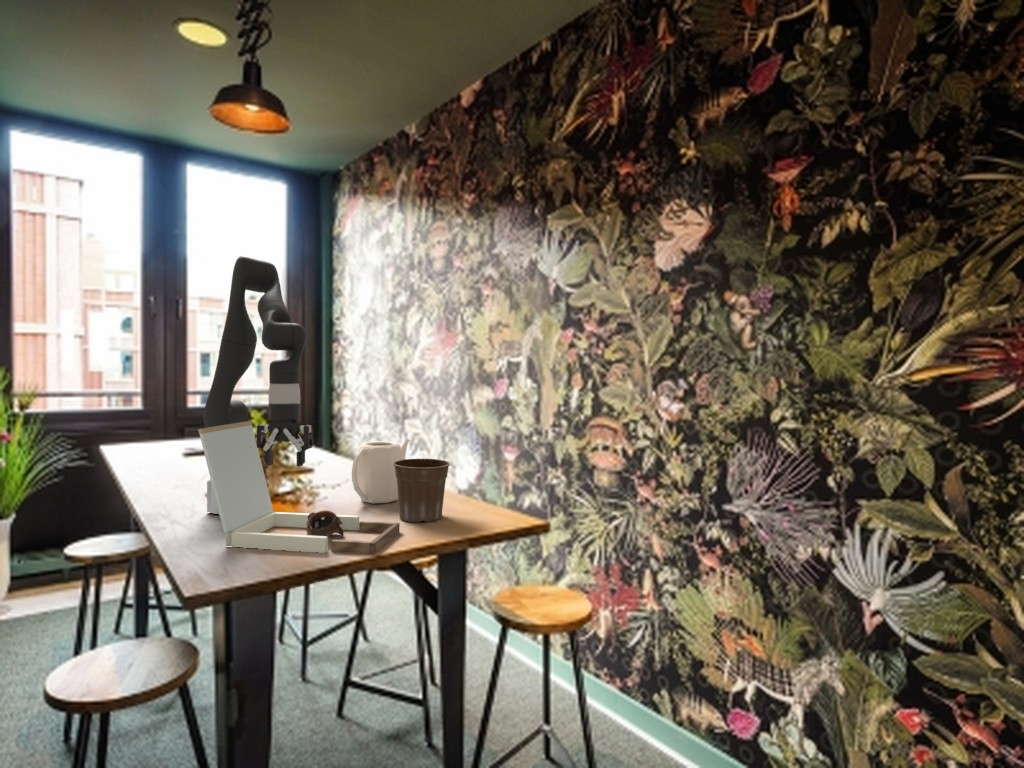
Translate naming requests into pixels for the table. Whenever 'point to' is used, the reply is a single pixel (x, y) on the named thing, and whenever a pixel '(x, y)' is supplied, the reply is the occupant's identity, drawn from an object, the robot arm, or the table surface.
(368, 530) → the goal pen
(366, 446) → the watering can
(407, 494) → the plant pot
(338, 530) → the pottery mug
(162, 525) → the table surface
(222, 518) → the cold frame
